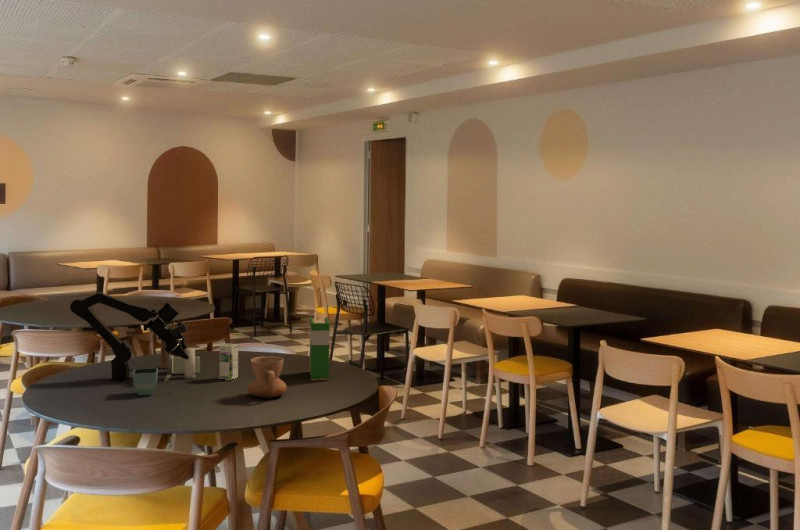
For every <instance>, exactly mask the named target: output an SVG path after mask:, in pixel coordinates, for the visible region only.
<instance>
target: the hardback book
mask: <svg viewBox="0 0 800 530" xmlns="http://www.w3.org/2000/svg"><path fill="white" fill-rule="evenodd" d="M309 375H311V377H310V380H311V379H321V378H329V379H330V321H329V319H328V317H327V316H326V317H325V316H324V318H313V317H311V316H310V317H309Z"/></svg>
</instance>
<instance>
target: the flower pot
mask: <svg viewBox="0 0 800 530" xmlns="http://www.w3.org/2000/svg"><path fill="white" fill-rule="evenodd" d="M158 372H159V368H157V367H152V368H148V367H147V368H135V369H133V371H132V374H131V375H132V380H133V381H132V383H133V388H134V390H135V392H136V394H137V395H138V396H152V395H154V393H155V391H156V388H157V382H158V375H159V373H158Z"/></svg>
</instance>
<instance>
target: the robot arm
mask: <svg viewBox="0 0 800 530" xmlns="http://www.w3.org/2000/svg"><path fill="white" fill-rule="evenodd" d="M97 304H102V305H104V306H108V307H110V308H112V309H115V310H118V311H121V312H124V313H127V314H128V315H130V316H131V317H132V318H134V319H136V320H137V321H138V322H142V323H143V324H142V325H143V331H144V332H145V331H147V330H148V329H149V331H151V332H152V333H153V334H154V335H155V336H157V339H158V340H160V341H161V340H162V341H163V342H164V343H165V345H166V347H165V351H166V352H167V353H169V355H173V356H175V357H177V356H179V357H181V358H184V359H189V357H188V355H187V354H186V353H185V351H184V349H186V348H188V346H187V344H186V345H185V343H184V337H183V336H184V335H185V334H183V333H186V332H188V331H189V327H188V325H187V324H186V323H185V322H182V321H179V322H177V325H176V326H174V327H172V326H168V325H167V324H166V323H171V322H172V321H173V320H174V319H175V318H176V317H178V316H179V314H180V313H181V312H180V310H178V308H177V307H176V306H174V305H173V304H171V303H170V302H168V301H167V302H166V303H165V304H164V305H163V306H162V307H161V308H160V309H152V307H150V306H147V305H141V304H135V303H130V302H128V301H125V300H122V299H119V298H116V297H114V296H112V295H109V294H106V293H104V292H101V291H99V292H96V293H95V294H92V295H91V296H87V297H86V298H84V297H79V298H76V299H74V300H73V301H72V302H71V303H70V306H69V308H70V311H71V312H72V313H73V314H75V316H77V317H79V318H81V319H82V320H84V321H85V322H87V323H88V325H89V326H91V328H93V330H94V331H95V332H96V333H97V334H98V335H99V336H100V337H101V338H102V340H104V341H105V342H106V343H107V345H109V347H110V349H111V350H112V352H113V354H114V356H115V357H113V359H112V360H111V361H110V363H111V377H109V378H108V380H109V381H110V380H111V381H115V380H116V381H117V382H123V381H126V380H129V379H133V376H130V366H129V363H128V362H129V361H130V360H131V358H133V356H134V353H135V351H134V349H133V345H131V344H130V343H129V341H128V340H127V339H124V340H121V339H120V338H118V336H117V335H116V334H114V332H113V331H112V330H111V329H110V328H109V327H108V326H107V325H106V324H105V323H104V322H103V321H102V320H101V319H100V318H99V317H98V316H97V314H96V313H95V311H94V310H93V309H94V308H93V307H92V306H95V305H97ZM153 318H155V319H153ZM147 321H148V322H147ZM145 322H147V323H145ZM182 337H183V338H182ZM181 338H182V339H181Z"/></svg>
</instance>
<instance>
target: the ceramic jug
mask: <svg viewBox="0 0 800 530" xmlns="http://www.w3.org/2000/svg"><path fill="white" fill-rule="evenodd" d="M250 363H251V368H252V371H253V373H254V376H255V377H256V378H255V379H254V380H253V381H251V382H250V383H249V384H248V385H247V391H248V393H249V394H250V395H251V396H252V397H253V396H254V397H256V398H262V399H270V398H271V399H272V398H277V397H280V396H282V395H284V394H285V393H286V391H287V383H286V382H285V381H283V380H282V379H281V378H280V376H281V375H280V374H281V372H282V369H283V366H284V358H283V357H281V356H280V357H279V356H272V355H269V356H265V355H263V356H256V357H253V358H251V360H250Z"/></svg>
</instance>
